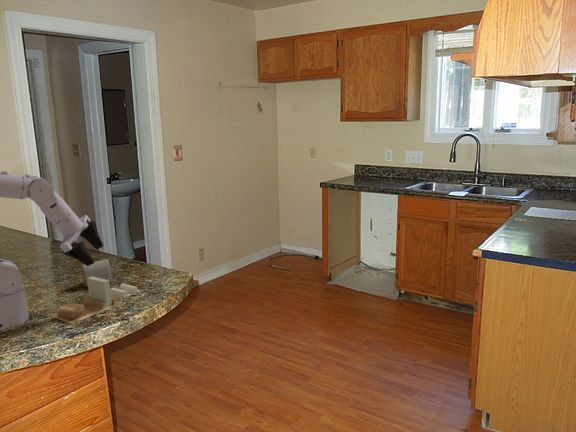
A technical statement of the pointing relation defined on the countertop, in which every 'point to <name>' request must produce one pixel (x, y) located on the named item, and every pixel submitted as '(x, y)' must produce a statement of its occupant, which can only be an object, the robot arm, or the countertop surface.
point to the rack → (91, 308)
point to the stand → (123, 291)
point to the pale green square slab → (99, 290)
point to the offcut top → (71, 309)
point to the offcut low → (72, 317)
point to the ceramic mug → (96, 271)
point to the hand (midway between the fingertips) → (95, 255)
